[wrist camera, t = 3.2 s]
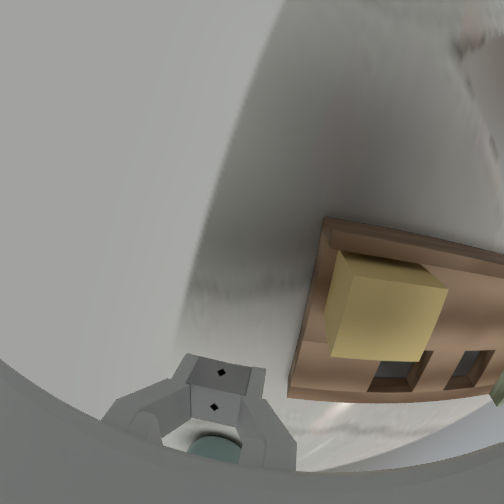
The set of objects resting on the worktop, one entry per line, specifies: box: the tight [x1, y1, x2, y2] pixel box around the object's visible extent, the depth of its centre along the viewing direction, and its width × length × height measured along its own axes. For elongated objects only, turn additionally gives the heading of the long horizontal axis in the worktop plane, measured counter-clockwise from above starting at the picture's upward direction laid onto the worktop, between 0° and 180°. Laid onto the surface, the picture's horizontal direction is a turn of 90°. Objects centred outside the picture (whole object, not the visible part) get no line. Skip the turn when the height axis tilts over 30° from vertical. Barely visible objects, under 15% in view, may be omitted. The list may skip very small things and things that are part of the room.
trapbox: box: [287, 217, 504, 407], centre depth 18 cm, size 16×26×6 cm, turn 83°
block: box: [323, 250, 449, 362], centre depth 16 cm, size 5×6×5 cm
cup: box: [187, 436, 241, 464], centre depth 25 cm, size 8×8×10 cm
